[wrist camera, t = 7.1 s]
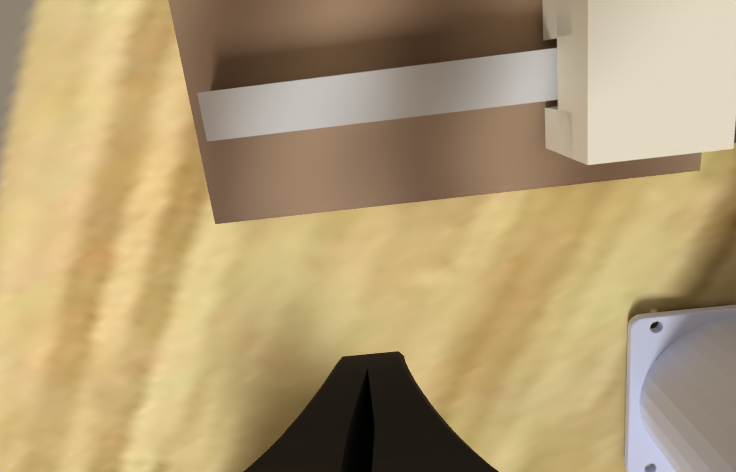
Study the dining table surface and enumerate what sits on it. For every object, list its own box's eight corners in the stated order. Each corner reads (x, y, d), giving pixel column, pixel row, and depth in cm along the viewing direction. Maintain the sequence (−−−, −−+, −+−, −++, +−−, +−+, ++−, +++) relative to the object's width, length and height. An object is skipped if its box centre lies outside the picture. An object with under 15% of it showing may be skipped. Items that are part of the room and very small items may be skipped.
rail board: (694, -67, 18) (780, -108, 14) (681, 165, 20) (753, 185, 16) (181, 2, 19) (129, -18, 15) (224, 216, 21) (189, 246, 17)
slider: (667, -21, 17) (749, -50, 13) (661, 134, 18) (733, 148, 14) (542, -5, 17) (588, -29, 13) (545, 148, 18) (587, 165, 15)
